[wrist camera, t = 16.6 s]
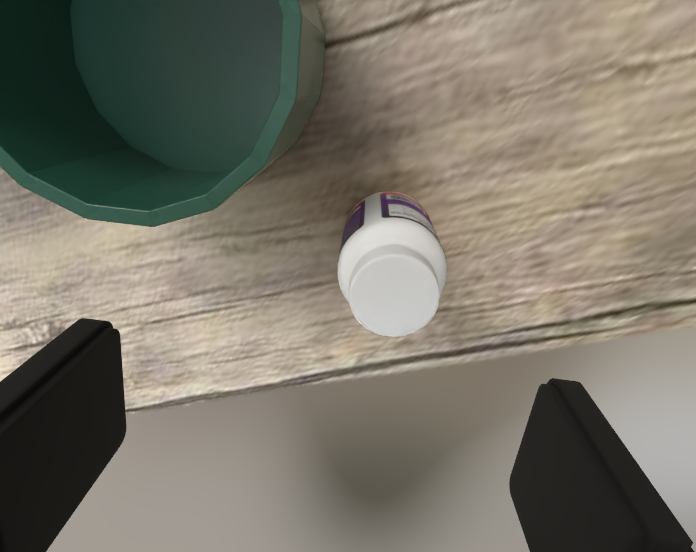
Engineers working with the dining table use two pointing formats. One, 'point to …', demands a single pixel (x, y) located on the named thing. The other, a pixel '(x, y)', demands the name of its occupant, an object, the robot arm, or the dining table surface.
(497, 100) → the dining table surface
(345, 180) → the dining table surface
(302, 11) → the tin
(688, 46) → the dining table surface
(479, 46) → the dining table surface
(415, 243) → the pill bottle
